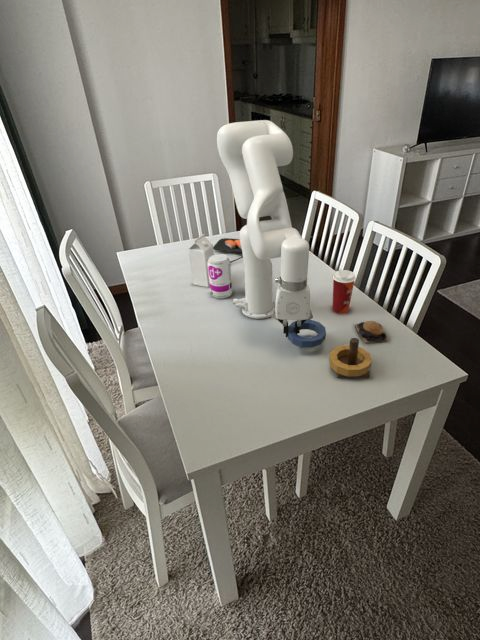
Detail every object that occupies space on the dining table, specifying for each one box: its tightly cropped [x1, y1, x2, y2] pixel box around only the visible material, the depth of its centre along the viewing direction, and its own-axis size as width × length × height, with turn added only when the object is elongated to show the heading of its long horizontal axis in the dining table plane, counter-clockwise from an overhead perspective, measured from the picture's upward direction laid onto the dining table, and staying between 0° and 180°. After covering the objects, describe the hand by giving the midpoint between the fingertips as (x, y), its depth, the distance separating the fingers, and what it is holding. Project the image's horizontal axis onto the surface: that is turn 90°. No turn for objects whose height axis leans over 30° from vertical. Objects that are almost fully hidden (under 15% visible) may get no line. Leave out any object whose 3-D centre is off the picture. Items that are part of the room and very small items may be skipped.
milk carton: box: [187, 233, 215, 288], centre depth 160 cm, size 7×7×19 cm
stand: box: [335, 337, 371, 379], centre depth 116 cm, size 9×9×10 cm
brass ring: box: [328, 344, 373, 377], centre depth 118 cm, size 12×12×2 cm
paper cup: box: [332, 269, 356, 315], centre depth 142 cm, size 8×8×14 cm
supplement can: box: [207, 253, 233, 299], centre depth 153 cm, size 8×8×15 cm
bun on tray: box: [355, 320, 389, 344], centre depth 132 cm, size 11×8×4 cm
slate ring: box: [287, 319, 327, 349], centre depth 127 cm, size 12×12×2 cm
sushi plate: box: [213, 237, 243, 264], centre depth 185 cm, size 29×30×4 cm
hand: (291, 334), depth 127 cm, fingers closed on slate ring, 2 cm apart
